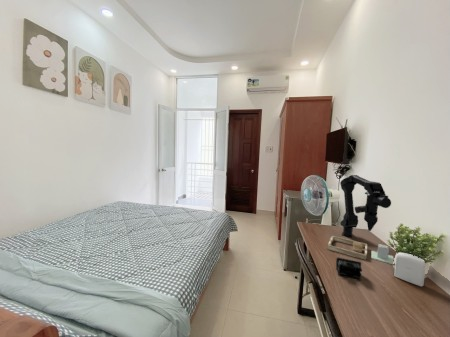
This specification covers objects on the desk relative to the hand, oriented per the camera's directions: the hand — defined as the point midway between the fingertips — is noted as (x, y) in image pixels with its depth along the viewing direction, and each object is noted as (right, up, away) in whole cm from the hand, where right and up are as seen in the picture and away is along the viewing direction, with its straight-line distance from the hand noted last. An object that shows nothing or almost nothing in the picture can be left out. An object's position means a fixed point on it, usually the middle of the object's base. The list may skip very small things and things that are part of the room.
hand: (369, 228), depth 124 cm
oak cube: (-8, -13, -1) cm, 15 cm away
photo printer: (-3, -16, -29) cm, 33 cm away
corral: (-13, -12, +1) cm, 18 cm away
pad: (+1, -14, -9) cm, 17 cm away
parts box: (+1, -13, -9) cm, 16 cm away
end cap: (-28, -15, -25) cm, 41 cm away
